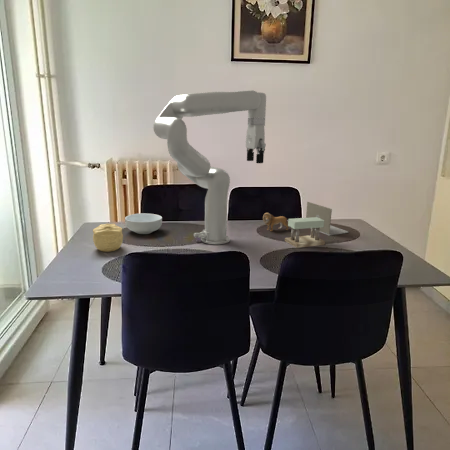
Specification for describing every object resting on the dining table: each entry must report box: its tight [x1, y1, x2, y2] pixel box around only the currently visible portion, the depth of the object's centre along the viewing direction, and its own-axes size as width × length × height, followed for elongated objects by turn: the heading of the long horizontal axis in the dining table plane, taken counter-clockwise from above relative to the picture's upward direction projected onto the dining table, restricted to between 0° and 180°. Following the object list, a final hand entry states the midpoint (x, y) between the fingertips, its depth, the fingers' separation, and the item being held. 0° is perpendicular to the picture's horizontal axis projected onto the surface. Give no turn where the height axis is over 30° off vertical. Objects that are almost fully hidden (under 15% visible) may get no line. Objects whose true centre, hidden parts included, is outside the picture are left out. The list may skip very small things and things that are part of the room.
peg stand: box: [284, 228, 326, 249], centre depth 172 cm, size 14×10×8 cm
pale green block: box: [287, 217, 324, 230], centre depth 171 cm, size 14×6×3 cm, turn 107°
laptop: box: [305, 201, 349, 237], centre depth 194 cm, size 18×12×13 cm
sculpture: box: [92, 223, 124, 253], centre depth 158 cm, size 12×12×11 cm
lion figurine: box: [262, 212, 290, 232], centre depth 192 cm, size 15×5×9 cm, turn 113°
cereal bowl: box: [124, 212, 163, 235], centre depth 184 cm, size 17×17×7 cm
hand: (254, 162), depth 177 cm, fingers open, 9 cm apart
